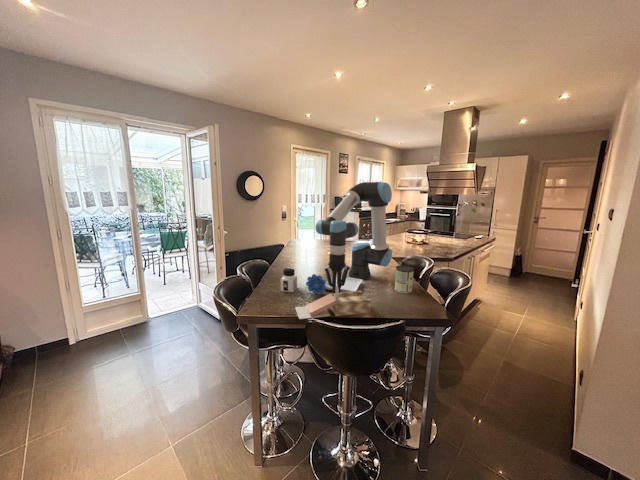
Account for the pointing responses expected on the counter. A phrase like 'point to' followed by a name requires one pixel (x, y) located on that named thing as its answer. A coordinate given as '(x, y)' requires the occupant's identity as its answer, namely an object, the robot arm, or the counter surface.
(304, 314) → the mat
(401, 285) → the coffee can
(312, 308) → the block
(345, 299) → the box
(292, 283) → the container
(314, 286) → the grapes
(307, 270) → the counter surface
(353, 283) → the salad plate
